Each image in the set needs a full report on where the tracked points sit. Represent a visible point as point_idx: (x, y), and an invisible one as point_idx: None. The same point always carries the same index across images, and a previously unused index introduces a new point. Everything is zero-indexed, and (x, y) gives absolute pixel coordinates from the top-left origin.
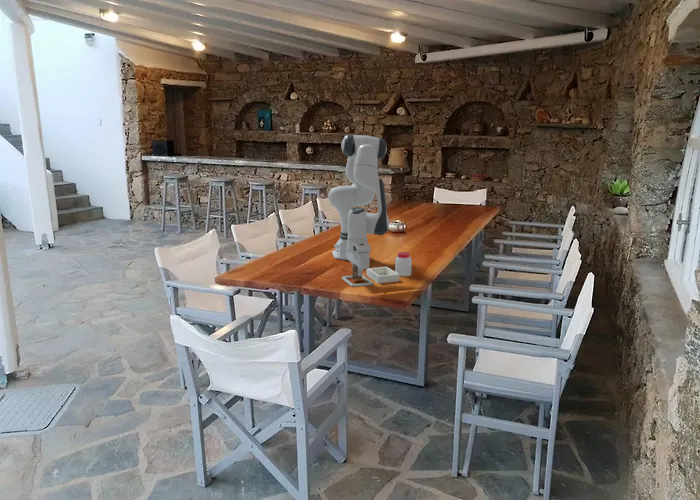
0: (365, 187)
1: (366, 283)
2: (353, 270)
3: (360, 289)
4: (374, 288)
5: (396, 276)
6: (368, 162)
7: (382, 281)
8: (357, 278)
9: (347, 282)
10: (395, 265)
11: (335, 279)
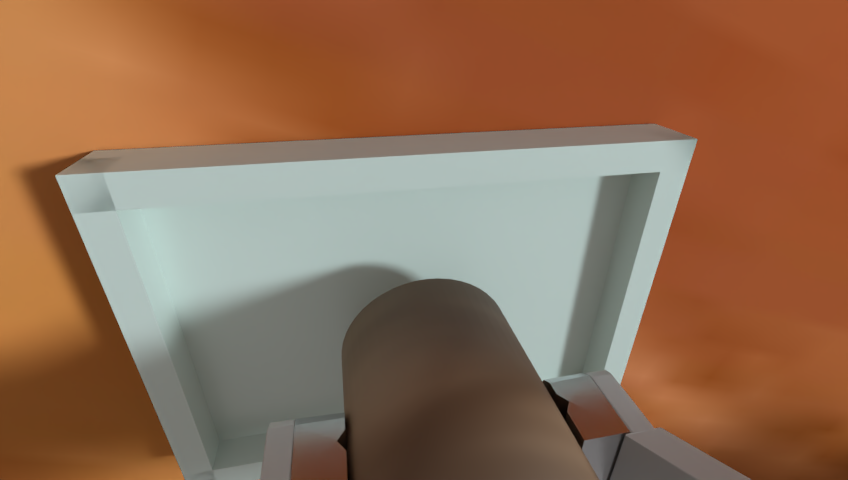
0: None
1: (161, 418)
2: (435, 435)
3: (23, 275)
4: (85, 447)
5: None
6: None
7: None
8: (342, 356)
9: (374, 149)
10: None
11: (742, 24)
